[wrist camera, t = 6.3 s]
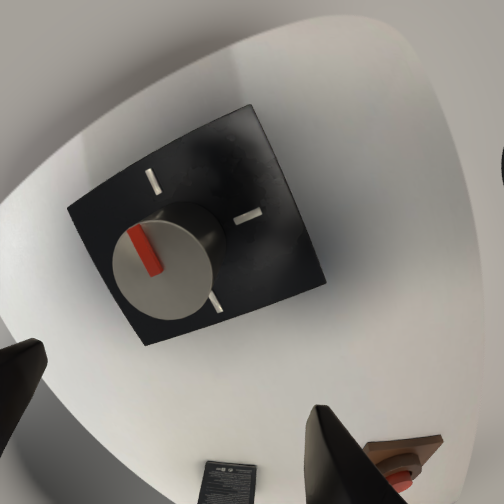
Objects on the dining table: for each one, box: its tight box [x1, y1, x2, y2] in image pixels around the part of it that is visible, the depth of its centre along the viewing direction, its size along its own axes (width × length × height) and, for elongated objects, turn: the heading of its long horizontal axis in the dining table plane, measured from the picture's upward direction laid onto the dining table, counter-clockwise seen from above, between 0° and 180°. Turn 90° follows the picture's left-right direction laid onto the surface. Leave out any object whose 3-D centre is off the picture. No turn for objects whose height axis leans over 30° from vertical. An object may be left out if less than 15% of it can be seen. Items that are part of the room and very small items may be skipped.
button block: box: [363, 435, 444, 480], centre depth 25 cm, size 10×9×3 cm
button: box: [386, 470, 413, 493], centre depth 23 cm, size 4×4×2 cm
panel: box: [67, 104, 327, 346], centre depth 17 cm, size 12×10×3 cm
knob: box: [113, 202, 226, 320], centre depth 14 cm, size 4×4×4 cm
